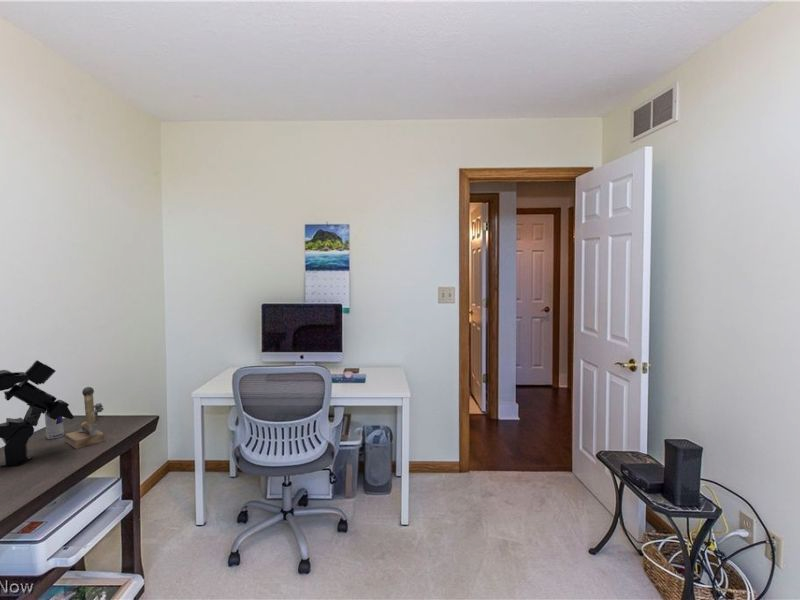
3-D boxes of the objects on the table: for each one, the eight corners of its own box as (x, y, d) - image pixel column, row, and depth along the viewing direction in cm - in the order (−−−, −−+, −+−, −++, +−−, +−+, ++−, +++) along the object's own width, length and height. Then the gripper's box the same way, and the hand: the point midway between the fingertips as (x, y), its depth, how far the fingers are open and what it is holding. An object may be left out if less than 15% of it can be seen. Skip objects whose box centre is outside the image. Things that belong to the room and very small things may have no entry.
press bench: (76, 448, 166) (74, 429, 166) (65, 441, 173) (64, 423, 173) (104, 441, 173) (102, 422, 173) (93, 434, 180) (91, 417, 180)
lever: (87, 434, 170) (83, 388, 169) (84, 432, 172) (80, 387, 171) (98, 431, 173) (95, 386, 171) (95, 429, 175) (91, 385, 174)
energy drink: (67, 434, 182) (64, 404, 181) (56, 439, 176) (53, 408, 176) (54, 434, 182) (52, 404, 181) (43, 439, 177) (40, 408, 176)
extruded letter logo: (99, 412, 210) (99, 400, 209) (103, 412, 210) (103, 400, 210) (83, 430, 186) (82, 416, 186) (88, 430, 187) (87, 416, 186)
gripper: (5, 411, 160) (47, 432, 170) (19, 421, 149) (63, 444, 158) (31, 383, 166) (70, 406, 175) (47, 391, 154) (88, 415, 163)
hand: (72, 418), depth 168 cm, fingers closed
